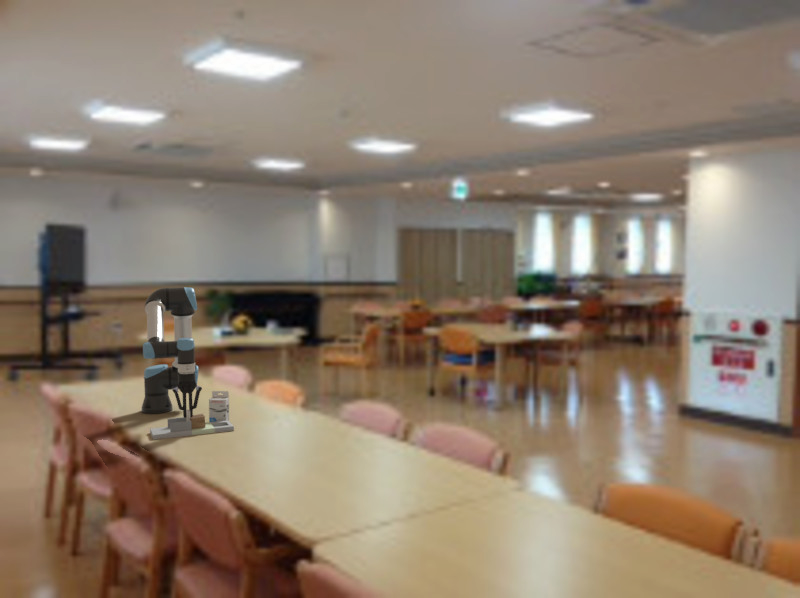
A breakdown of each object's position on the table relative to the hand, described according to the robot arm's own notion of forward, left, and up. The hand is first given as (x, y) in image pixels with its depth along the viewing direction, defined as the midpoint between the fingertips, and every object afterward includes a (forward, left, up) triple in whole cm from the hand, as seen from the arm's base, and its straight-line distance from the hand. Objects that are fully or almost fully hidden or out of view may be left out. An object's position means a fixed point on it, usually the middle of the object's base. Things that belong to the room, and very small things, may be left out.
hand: (188, 424), depth 326 cm
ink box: (-13, +16, -4) cm, 21 cm away
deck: (0, +2, -4) cm, 4 cm away
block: (0, +4, -2) cm, 4 cm away
